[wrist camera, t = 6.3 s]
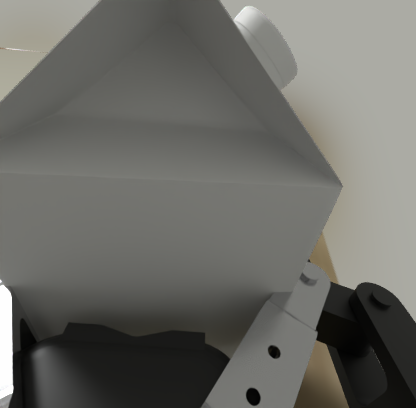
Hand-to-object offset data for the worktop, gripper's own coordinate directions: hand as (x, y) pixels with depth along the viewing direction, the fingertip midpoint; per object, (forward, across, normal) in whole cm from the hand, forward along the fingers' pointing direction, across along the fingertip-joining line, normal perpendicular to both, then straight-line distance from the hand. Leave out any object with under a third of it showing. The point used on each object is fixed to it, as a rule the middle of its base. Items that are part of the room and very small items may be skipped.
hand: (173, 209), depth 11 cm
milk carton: (-2, 0, +11) cm, 11 cm away
